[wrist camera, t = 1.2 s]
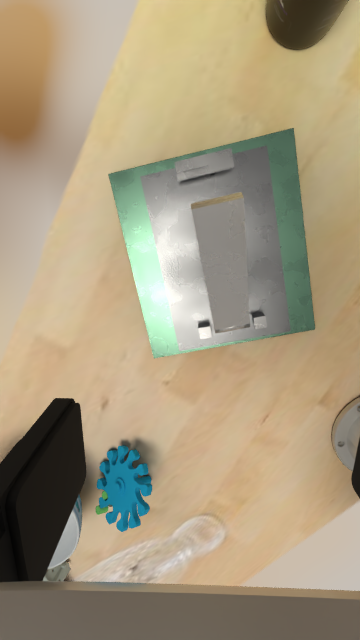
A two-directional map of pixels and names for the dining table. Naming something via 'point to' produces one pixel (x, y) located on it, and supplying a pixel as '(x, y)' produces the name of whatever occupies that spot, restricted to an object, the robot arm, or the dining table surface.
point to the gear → (123, 488)
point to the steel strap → (224, 259)
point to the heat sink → (183, 251)
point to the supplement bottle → (302, 20)
